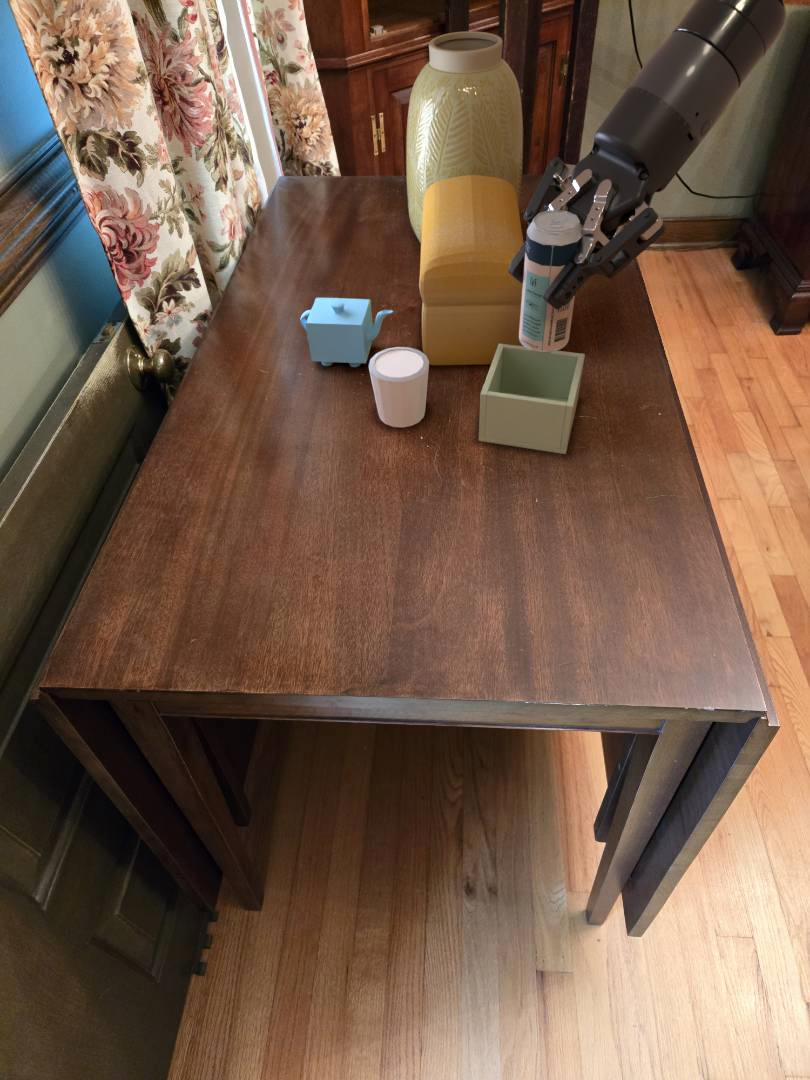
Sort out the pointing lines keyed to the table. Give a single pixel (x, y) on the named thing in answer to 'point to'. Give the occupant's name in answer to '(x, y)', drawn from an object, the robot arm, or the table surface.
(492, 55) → the vase
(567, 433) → the bin
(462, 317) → the bread
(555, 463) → the table surface
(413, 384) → the white cup
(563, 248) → the beer can
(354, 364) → the teapot
